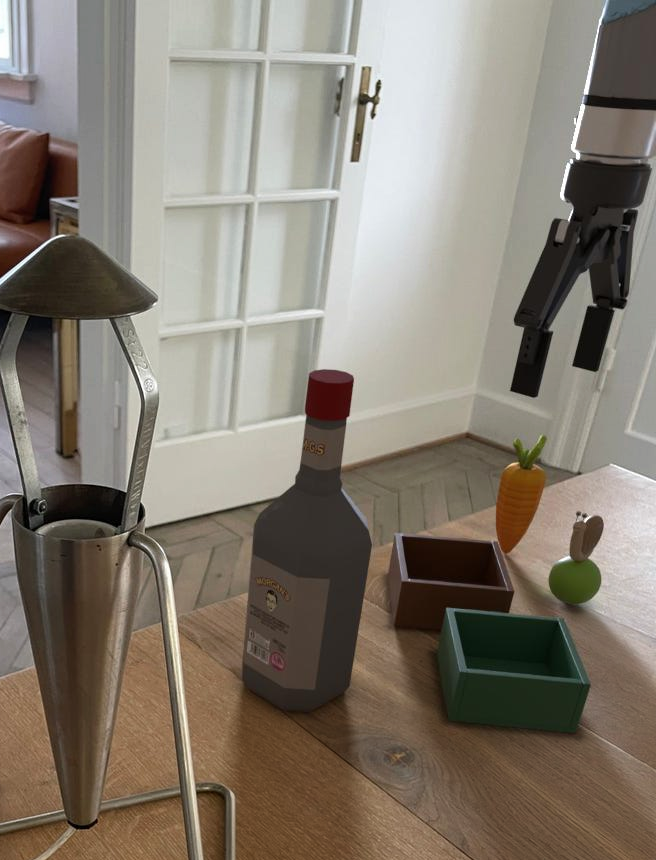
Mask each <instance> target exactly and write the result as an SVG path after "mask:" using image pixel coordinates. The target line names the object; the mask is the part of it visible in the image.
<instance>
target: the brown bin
mask: <svg viewBox="0 0 656 860" xmlns="http://www.w3.org/2000/svg"><path fill="white" fill-rule="evenodd" d="M502 553H503V552H502V550H501V548H500V545H499V542H498V541H495V540H484V539H473V538H472V539H470V538H460V537H448V536H437V535H425V534H414V533H413V534H412V533H401V532H395V533H394V536H393V542H392V548H391V554H390V558H389V559H390V560H389V565H388V570H387V580H388V589H389V597H390V606H391V613H392V622H393V626H394V627H397V628H398V627H400V628H410V629H420V630H430V631H431V630H432V631H441V630H442V625H443V621H444V616H445V611H446V608H453V609H454V608H455V609H466V610H477V611H488V612H499V613H510V611H511V607H512V604H513V599H514V596H515V588H514V585H513V583H512V580H511V577H510V574H509V571H508V568H507V565H506V563H505V559H504V556H503V554H502Z"/></svg>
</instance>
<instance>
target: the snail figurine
mask: <svg viewBox="0 0 656 860" xmlns="http://www.w3.org/2000/svg"><path fill="white" fill-rule="evenodd" d="M575 515H576V519H575V522H574V523H573V525H572V533H571V536H570V541H569V555H568V556H565V557H563V558H561V559H559V560H558V561H557V562H556V563H555V564H554V565H553V566H552V567H551V569H550V570H549V571H550V572H549V574H548V586H549V589H550V592H551V593H552V595H553V596H554V598H556V599H557V600H558V601H560V602H561V603H565V604H568V605H581V604H585V603H587V602H589V601H590V600H592V599H593V598H594V597H595V596H596V595H597V594H598V592H599V590H600V588H601V586H602V574H601V570H600V568H599V567H598V565H597V564H596V563H595V562H594V561H593V560H592V559H590V558H589V557H591V555H592V554H593V552H594V550H595V548H597V546H598V544H599V542H600V541H601V538H602V535H603V532H604V529H605V527H604V526H605V523H604V519H603V517H601V515H599V514H598V515H597V514H592V515H590V516H588V514H587V513H586V512H583V513H582V511H581V510H577V511H576V512H575ZM580 516H581V518H582V520H581V519H579V517H580Z"/></svg>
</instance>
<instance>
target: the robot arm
mask: <svg viewBox="0 0 656 860" xmlns="http://www.w3.org/2000/svg"><path fill="white" fill-rule="evenodd" d="M590 59H591V60H590V63H589V64H590V65H589V69H588V74H587V78H586V81H585V87H584V90H583V91H584V92H583V94H584V95H583V96H582V102H581V103H582V104H581V106H580V111H579V114H577V115H576V116H575V118H574V125H575V126H576V128H575V132H574V136H573V141H572V144H571V150H572V152H574V153H575V154H576V157H573V158H570V161H567V165H566V169H565V173H564V178H563V181H562V186H561V191H560V198H561V200H562V201H563V202H565V203H567V204H570V205H571V206H572V211H571V213H570V216H569V218H568V219H565V218H558V217H555V218H553V219H552V221H551V224H550V227H549V231H548V234H547V238H546V242H545V244H544V247H543V249H542V251H541V253H540V256H539V258H538V260H537V263H536V265H535V267H534V270H533V272H532V274H531V277H530V278H529V282H528V284H527V286H526V289H525V291H524V293H523V295H522V298H521V300H520V302H519V305H518V307H517V310H516V311H515V314H514V317H513V323H514V326H516V327H520V328H523V331H522V336H521V340H520V344H519V349H518V353H517V358H516V363H515V367H514V371H513V376H512V380H511V385H510V388H509V392H511V393H515V394H519V395H521V396H525V397H529V398H533V399H535V398H537V397H538V396H539V393H540V388H541V385H542V380H543V376H544V372H545V368H546V364H547V361H548V355H549V352H550V347H551V343H552V341H553V335H554V331H553V330H550V328H551V327H552V324H553V323H554V321H555V320H556V317H557V315H558V313H559V312H560V310H561V309H562V307H563V305H564V303H565V302H566V300H567V298H568V296H569V294H570V293H571V291H572V290H573V287H574V285H576V284H575V283H576V282H577V281H578V279H579V276H580V275H581V274H584V273H586V272H588V275H589V282H590V289H591V297H592V298H591V299H592V303H593V304H594V305H593V304H589V305H587V306H586V310H585V314H584V318H583V322H582V326H581V330H580V333H579V337H578V341H577V344H576V348H575V353H574V356H573V361H572V364H571V367H573V368H577V369H581V370H585V371H589V372H593V373H597V372H598V371H599V370H600V366H601V362H602V359H603V355H604V352H605V348H606V345H607V341H608V337H609V334H610V329H611V326H612V322H613V319H614V314H615V312H616V310H625V308H626V306H627V303H628V299H627V298H628V297H629V295H630V289H631V287H630V285H631V274H632V273H631V272H632V263H633V262H632V260H633V248H634V247H633V246H634V234H635V228H636V224H637V220H638V216H639V210H638V209H637V208H638V207H640V206H641V205H642V204H643V202H644V200H645V196H646V193H647V189H648V186H649V182H650V177H651V174H652V171H653V168H652V167H651V164H650V163H648V161H649V159H653V158H654V157H656V0H605V2H604V5H603V9H602V13H601V16H600V19H599V20H598V27H597V33H596V37H595V41H594V46H593V51H592V55H591V58H590ZM615 309H616V310H615Z"/></svg>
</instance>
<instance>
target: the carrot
mask: <svg viewBox="0 0 656 860" xmlns="http://www.w3.org/2000/svg"><path fill="white" fill-rule="evenodd" d="M547 440H548V438H547V436H546V435H545V434H541V435H540V436H539V438H538V441H537V443H535V445H534V446H533V447H532V449H529V448H525V449H524V447H523V443H522V442H521V440H520V439H519V438H515V440H514V441H513V443H512V446H513V449H514V451H515V453H516V456H517V460H518V462H512V463H510V464H509V465H508V466H506V468H504V469H503V471H502V473H501V477H500V482H499V487H498V492H497V498H496V504H495V531H496V538H497V542H498V544H499V547H500V550H501V552H502V553H503V554H504V555H508V554H510V553H511V552H512V551H513V550H514V549H515V547H516V546H517V545H518V544H519V543H520V542H521V541H522V540H523V537H524V536H525V535H526V533H527V532H528V530H529V528H530V526H531V524H532V522H533V519H534V517H535V516H536V513H537V511H538V508H539V505H540V502H541V499H542V496H543V492H544V489H545V485H546V482H547V474H546V472H545V471H544V470H543V469H542V468H541V467H540V466H538V465H536V464H535V462H536V461H537V459H538V458H539V456H540V455H541V454H542V451H543V448H544V447H545V445H546V442H547Z"/></svg>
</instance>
